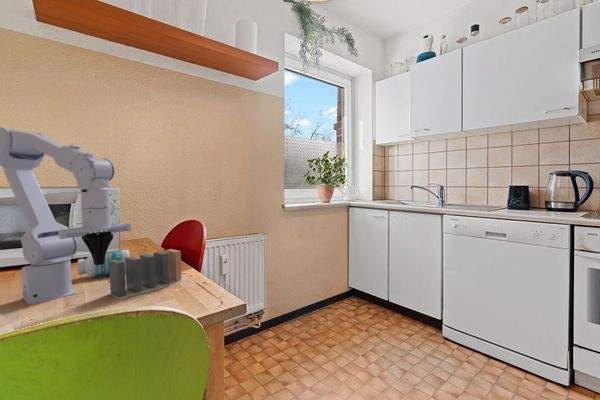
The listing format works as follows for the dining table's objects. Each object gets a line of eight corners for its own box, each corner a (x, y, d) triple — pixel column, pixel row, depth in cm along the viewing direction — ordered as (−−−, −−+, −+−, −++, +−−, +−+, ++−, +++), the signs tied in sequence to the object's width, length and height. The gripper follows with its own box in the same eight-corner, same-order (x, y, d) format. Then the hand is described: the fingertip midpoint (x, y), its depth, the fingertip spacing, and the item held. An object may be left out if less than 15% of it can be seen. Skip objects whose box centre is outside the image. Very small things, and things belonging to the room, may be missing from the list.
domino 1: (119, 297, 73) (117, 263, 73) (110, 293, 76) (109, 260, 76) (126, 295, 75) (124, 262, 74) (117, 291, 78) (116, 259, 77)
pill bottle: (130, 271, 94) (77, 279, 87) (130, 272, 100) (80, 280, 93) (128, 247, 95) (76, 253, 89) (128, 250, 102) (80, 256, 95)
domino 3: (150, 288, 80) (148, 257, 79) (141, 285, 83) (139, 255, 82) (155, 287, 81) (154, 256, 80) (146, 283, 84) (145, 253, 83)
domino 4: (163, 285, 83) (162, 254, 82) (154, 281, 86) (153, 252, 85) (169, 283, 84) (168, 253, 83) (160, 280, 87) (159, 251, 86)
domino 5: (176, 281, 86) (175, 252, 85) (167, 278, 89) (166, 250, 88) (181, 280, 87) (180, 251, 86) (172, 277, 90) (171, 249, 90)
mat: (121, 300, 72) (120, 299, 72) (104, 292, 78) (104, 291, 78) (187, 281, 87) (187, 279, 87) (169, 275, 93) (169, 274, 93)
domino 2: (135, 293, 76) (133, 260, 76) (126, 289, 79) (125, 257, 79) (141, 291, 78) (140, 259, 77) (132, 287, 81) (131, 256, 80)
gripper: (64, 211, 63) (67, 274, 64) (135, 206, 75) (137, 260, 75) (54, 210, 68) (57, 269, 68) (123, 206, 79) (125, 256, 80)
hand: (98, 264), depth 72 cm, fingers closed
